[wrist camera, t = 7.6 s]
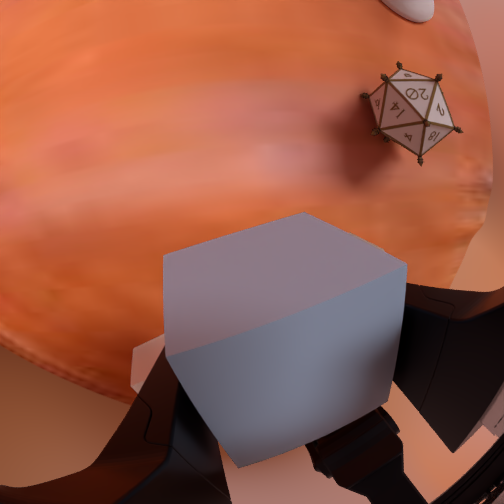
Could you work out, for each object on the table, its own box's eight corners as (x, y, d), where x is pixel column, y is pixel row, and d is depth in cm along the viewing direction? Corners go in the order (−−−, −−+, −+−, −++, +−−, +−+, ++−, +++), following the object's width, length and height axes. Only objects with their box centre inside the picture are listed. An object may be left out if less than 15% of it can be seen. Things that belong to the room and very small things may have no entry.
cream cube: (205, 361, 26) (215, 399, 21) (162, 380, 25) (165, 418, 20) (179, 325, 23) (184, 363, 19) (133, 347, 23) (130, 386, 18)
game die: (351, 128, 26) (360, 162, 18) (361, 52, 20) (377, 51, 13) (428, 148, 24) (461, 191, 17) (443, 77, 19) (489, 93, 11)
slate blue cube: (318, 323, 12) (387, 401, 7) (207, 364, 11) (238, 468, 6) (304, 211, 10) (407, 263, 5) (163, 255, 9) (165, 357, 4)
